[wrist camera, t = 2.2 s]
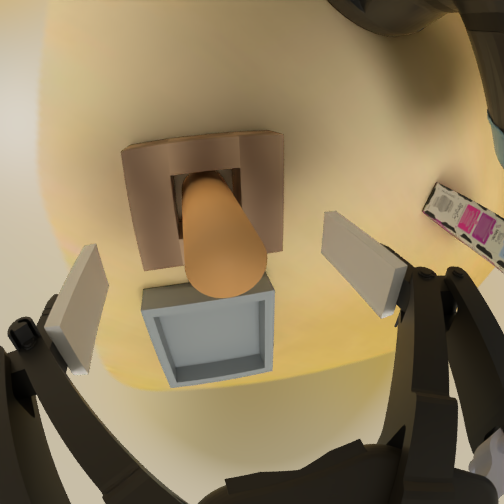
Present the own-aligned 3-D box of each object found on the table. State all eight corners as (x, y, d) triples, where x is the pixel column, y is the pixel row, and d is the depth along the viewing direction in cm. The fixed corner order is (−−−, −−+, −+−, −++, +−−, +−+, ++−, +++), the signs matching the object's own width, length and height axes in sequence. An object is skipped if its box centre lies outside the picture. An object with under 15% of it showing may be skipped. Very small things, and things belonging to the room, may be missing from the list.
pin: (224, 166, 24) (267, 220, 13) (227, 208, 26) (267, 291, 15) (179, 171, 23) (178, 232, 12) (184, 213, 25) (191, 303, 14)
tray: (264, 271, 30) (274, 290, 27) (265, 351, 37) (272, 370, 34) (143, 289, 28) (140, 310, 25) (169, 367, 34) (170, 387, 31)
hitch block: (268, 130, 23) (283, 134, 20) (269, 232, 28) (282, 250, 25) (130, 144, 21) (120, 151, 18) (147, 249, 26) (144, 271, 22)
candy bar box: (419, 213, 32) (514, 278, 18) (435, 180, 30) (535, 235, 16) (452, 238, 36) (526, 294, 22) (466, 211, 35) (543, 261, 21)
